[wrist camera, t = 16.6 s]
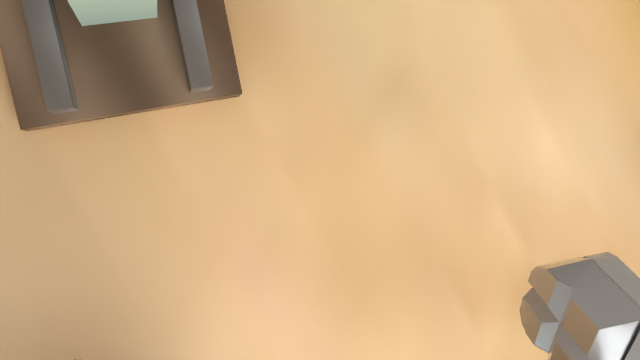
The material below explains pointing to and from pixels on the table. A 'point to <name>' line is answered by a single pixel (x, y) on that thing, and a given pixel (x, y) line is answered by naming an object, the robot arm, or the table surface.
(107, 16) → the block
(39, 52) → the rail base
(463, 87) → the table surface
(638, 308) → the robot arm
